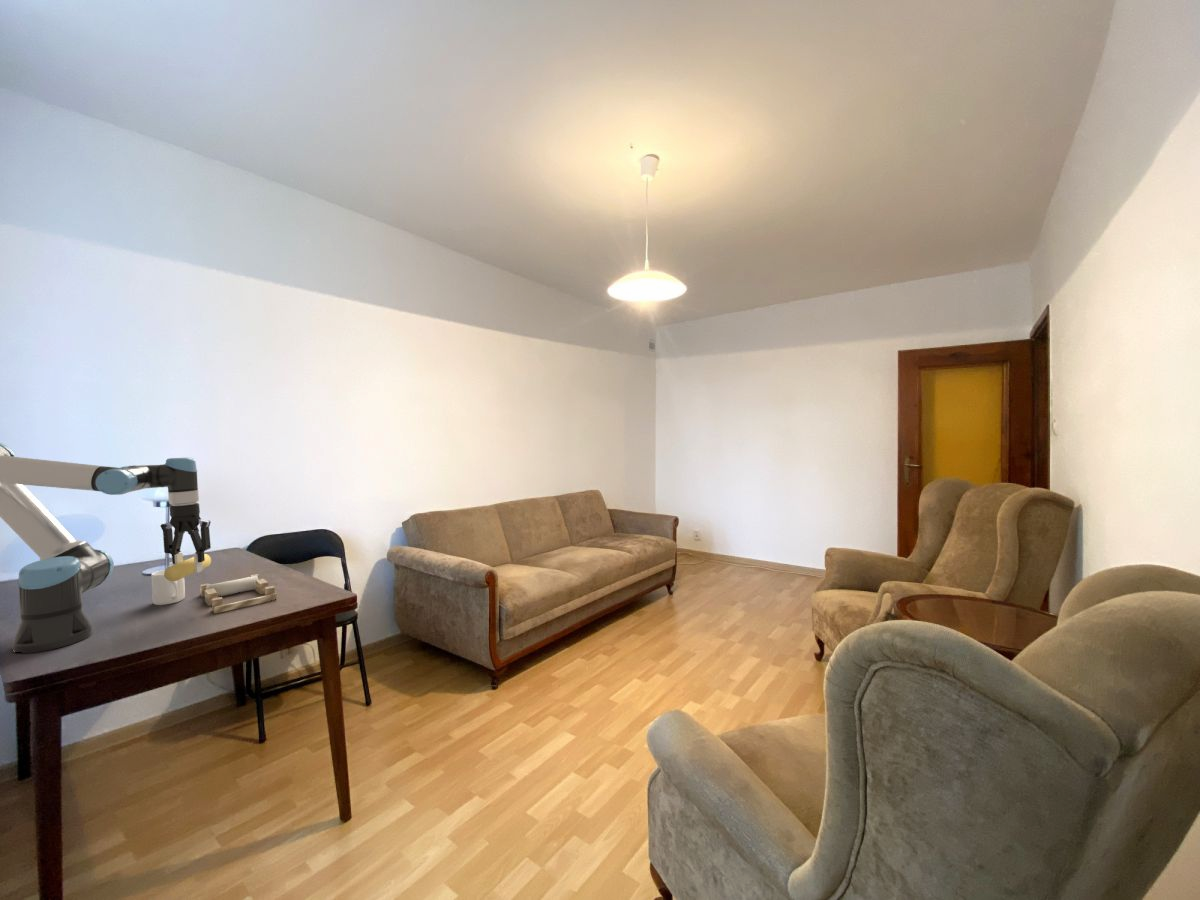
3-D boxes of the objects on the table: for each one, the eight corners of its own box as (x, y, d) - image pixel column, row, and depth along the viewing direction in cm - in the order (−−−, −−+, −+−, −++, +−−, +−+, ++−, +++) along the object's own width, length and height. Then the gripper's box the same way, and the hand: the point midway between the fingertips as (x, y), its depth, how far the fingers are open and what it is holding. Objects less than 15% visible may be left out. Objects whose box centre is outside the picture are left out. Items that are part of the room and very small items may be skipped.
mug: (160, 609, 162) (159, 578, 161) (149, 602, 168) (147, 572, 168) (192, 601, 169) (191, 571, 168) (180, 595, 175) (178, 566, 175)
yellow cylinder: (185, 576, 152) (176, 563, 152) (169, 584, 152) (160, 570, 151) (213, 563, 167) (206, 551, 166) (199, 570, 166) (192, 557, 166)
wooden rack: (214, 613, 158) (214, 601, 157) (200, 594, 176) (199, 584, 175) (276, 599, 171) (276, 588, 170) (257, 583, 189) (256, 573, 188)
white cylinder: (209, 601, 171) (208, 588, 170) (206, 595, 174) (206, 583, 173) (259, 590, 182) (259, 578, 181) (255, 585, 185) (255, 573, 184)
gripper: (221, 500, 163) (226, 567, 164) (161, 503, 160) (167, 571, 161) (207, 504, 156) (212, 573, 157) (144, 507, 153) (150, 578, 154)
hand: (189, 572), depth 159 cm, fingers closed on yellow cylinder, 5 cm apart
